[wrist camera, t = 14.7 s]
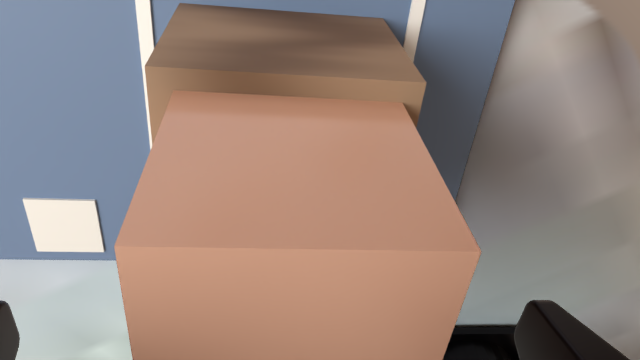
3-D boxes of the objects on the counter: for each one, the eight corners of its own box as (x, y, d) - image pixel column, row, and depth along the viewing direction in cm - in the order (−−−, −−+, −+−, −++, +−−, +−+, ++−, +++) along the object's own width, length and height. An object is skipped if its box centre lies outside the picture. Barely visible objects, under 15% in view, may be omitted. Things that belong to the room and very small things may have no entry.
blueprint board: (519, -47, 15) (529, -42, 14) (432, 253, 22) (437, 265, 21) (-144, -108, 13) (-164, -106, 12) (-17, 248, 19) (-26, 260, 19)
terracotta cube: (402, 102, 11) (481, 251, 7) (369, 267, 14) (412, 443, 10) (173, 90, 11) (113, 246, 6) (184, 264, 13) (148, 453, 9)
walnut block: (382, 18, 15) (426, 82, 11) (356, 182, 18) (381, 280, 14) (179, 2, 14) (144, 66, 10) (189, 177, 18) (165, 278, 14)
